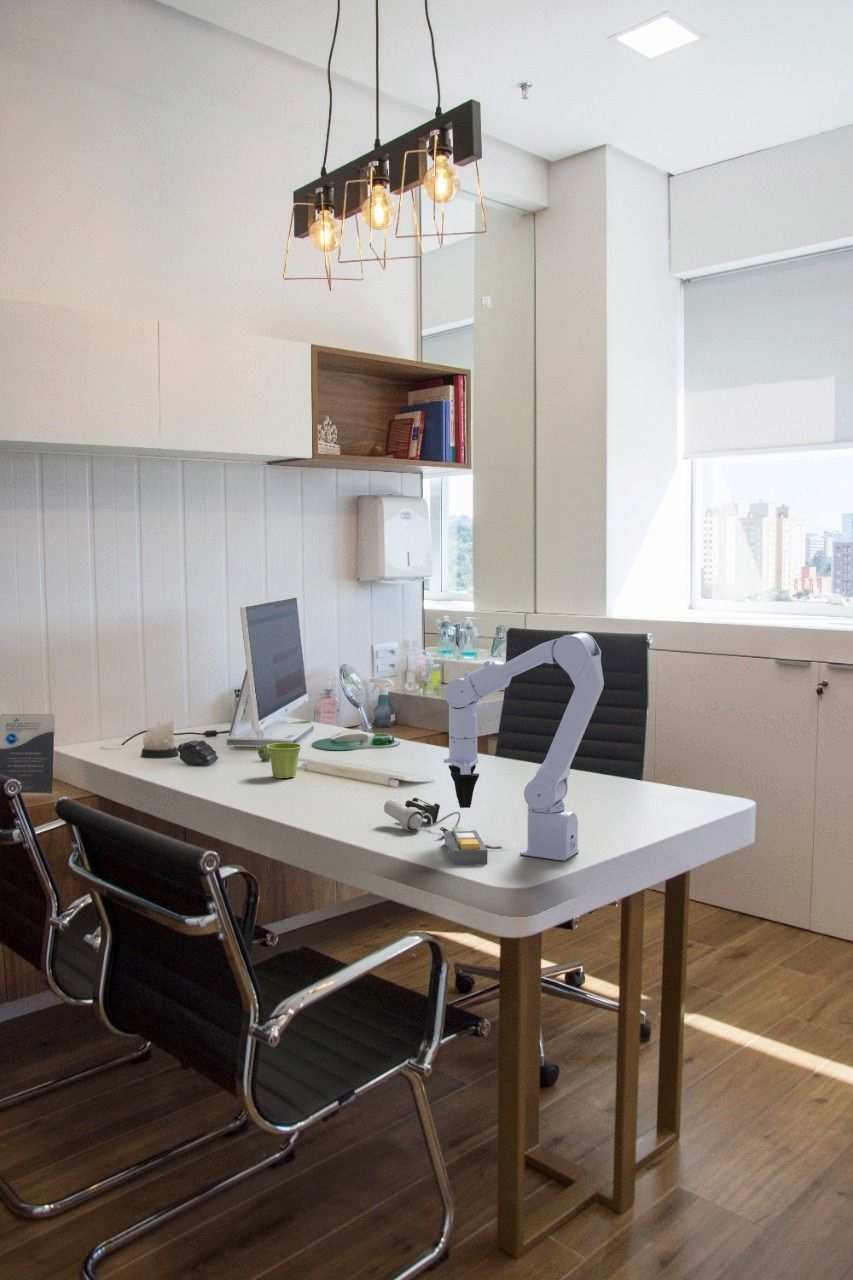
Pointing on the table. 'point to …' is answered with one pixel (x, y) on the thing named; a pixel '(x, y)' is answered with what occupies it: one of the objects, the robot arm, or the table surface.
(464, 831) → the sage key
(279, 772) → the plant pot
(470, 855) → the keypad
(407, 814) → the clip-on lamp
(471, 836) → the middle key
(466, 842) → the amber key
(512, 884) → the table surface
